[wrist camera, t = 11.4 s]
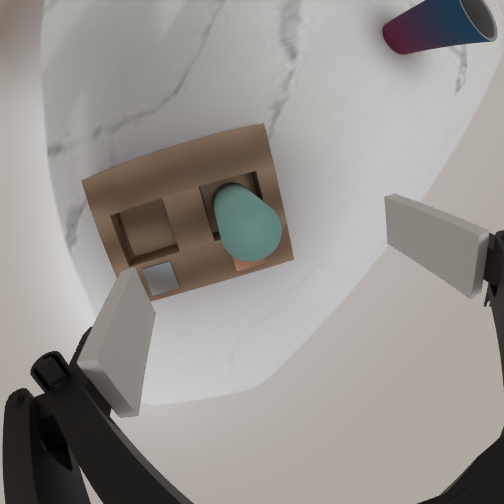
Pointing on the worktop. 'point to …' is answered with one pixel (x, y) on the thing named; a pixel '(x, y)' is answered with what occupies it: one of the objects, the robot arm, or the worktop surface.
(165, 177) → the socket board
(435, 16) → the cup
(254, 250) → the plug
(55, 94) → the worktop surface
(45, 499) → the robot arm
